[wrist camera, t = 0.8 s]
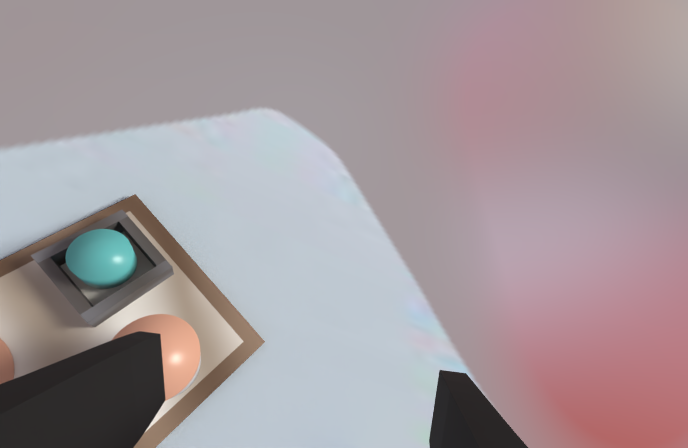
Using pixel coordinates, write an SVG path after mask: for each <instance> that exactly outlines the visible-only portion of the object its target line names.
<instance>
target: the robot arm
mask: <svg viewBox="0 0 688 448" xmlns="http://www.w3.org/2000/svg"><path fill="white" fill-rule="evenodd" d="M165 400H166V399H165V386H164V373H163V360H162V348H161V335H160V334H158V333H150V332H143V331H138V332H135V333H131V334H128V335H125V336H122V337H120V338H117V339H114V340H111V341H109V342H106V343H104V344H101V345H98V346H96V347H93V348H91V349H88V350H86V351H83V352H81V353H78V354H76V355H73V356H71V357H68V358H66V359H63V360H61V361H58V362H56V363H53V364H51V365H48V366H46V367H43V368H41V369H38V370H36V371H33V372H31V373H28V374H26V375H23V376H20V377H18V378H15V379H13V380H10V381H7V382H5V383H2V384H0V448H134V446H135V445H136V444H137V443H138V441H139V440H140V438H141V437H142V435H143V434H144V433H145V431H146V430H147V428H148V427H149V425H150V424H151V422H152V421H153V419H154V417H155V416H156V414H157V413H158V411H159V410H160V408H161V406H162V405H163V403H164V402H165ZM429 442H430V448H528V447H527V446H526V445H525V444H524V442H523V441H522V440H521V439H520V438H519V437H518V436H517V434H516V433H515V432H514V431H513V430H512V429H511V427H510V426H509V425H508V424H507V423H506V421H505V420H504V419H503V418H502V417H501V415H500V414H499V413H498V412H497V411H496V409H495V408H494V407H493V406H492V405H491V403H490V402H489V401H488V400H487V398H486V397H485V396H484V395H483V394H482V392H481V391H480V390H479V389H478V387H477V386H476V385H475V384H474V383H473V381H472V380H471V379H470V378H469V377H468V375H467V374H466V373H458V372H450V371H443V370H440V372H439V378H438V385H437V392H436V399H435V405H434V412H433V419H432V426H431V432H430V439H429Z"/></svg>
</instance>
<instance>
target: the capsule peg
mask: <svg viewBox="0 0 688 448" xmlns="http://www.w3.org/2000/svg"><path fill="white" fill-rule="evenodd" d="M138 331H143V332H150V333H158V334H160V335H161V348H162V360H163V373H164V386H165V399H166V400H168V399H171V398H173V397H175V396H177V395H179V394H181V393H182V392H184V391H185V390H186V389H188V388H189V387H190V386H191V384H192V383H193V382H194V380H195V379H196V377H197V375H198V373H199V370H200V366H201V353H200V343H199V339H198V336H197V334H196V332H195V331H194V329H193V328H192V327H191V326H190V325H189V324H188V323H187V322H186V321H184V320H183V319H181V318H179V317H176V316H173V315H168V314H154V315H149V316H145V317H142V318H139V319H137V320H135V321H133V322H131V323H130V324H128V325H126V326H125V327H124V328H123V329H121V330H120V331H119V332H118V333H117V334H116V335H115V336H114V338H113V339H112V340H114V339H117V338H120V337H122V336H125V335H128V334H131V333H135V332H138ZM166 400H165V401H166Z"/></svg>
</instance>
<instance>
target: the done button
mask: <svg viewBox="0 0 688 448" xmlns="http://www.w3.org/2000/svg"><path fill="white" fill-rule="evenodd" d="M65 258H66V264H67V266H68V268H69V269H70V271H71V272H72V273H74V274H75V275H76V276H77V277H78V278H79V279H80V280H82V281H83V282H84V283H85V284H86V285H88V286H90V287H93V288H97V289H109V288H114V287H117V286H119V285H121V284H123V283H125V282H126V281H128V280H129V279H130V278H131V277H132V275H133V274H134V272H135V271H136V268H137V256H136V254H135V252H134V250H133V248H132V246H131V244H130V242H129V240H128V239H127V238H126V237H125V236H124V235H123V234H121V233H119V232H117V231H114V230H110V229H96V230H91V231H88V232H86V233H84V234H82V235H80V236H78V237H77V238H76V239H75V240H74V241H73V242H72V243H71V244H70V245H69V247H68V249H67V252H66V257H65Z"/></svg>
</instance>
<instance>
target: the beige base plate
mask: <svg viewBox="0 0 688 448" xmlns="http://www.w3.org/2000/svg"><path fill="white" fill-rule="evenodd" d="M96 229H110V230H114V231H117V232H119V233H121V234H123V235H124V236H125V237H126V238H127V239H128V240H129V242H130V244H131V246H132V248H133V250H134V252H135V254H136V256H137V268H136V271H135V272H134V274H133V275H132V277H131V278H130V279H129V280H128V281H126V282H125V283H123V284H121V285H119V286H117V287H114V288H109V289H97V288H93V287H90V286H88V285H86V284H85V283H84V282H83V281H82V280H80V279H79V278H78V277H77V276H76V275H75V274H74V273H72V272H71V271H70V269H69V268H68V266H67V264H66V258H65V257H66V252H67V249H68V247H69V245H70V244H71V243H72V242H73V241H74V240H75V239H76V238H77V237H78V236H80V235H82V234H84V233H86V232H88V231H91V230H96ZM154 314H168V315H173V316H176V317H179V318H181V319H183V320H184V321H186V322H187V323H188V324H189V325H190V326H191V327H192V328H193V329H194V331H195V332H196V334H197V336H198V339H199V343H200V353H201V366H200V370H199V373H198V375H197V377H196V379H195V380H194V382H193V383H192V384H191V386H190V387H189V388H188V389H186V390H185V391H184V392H182V393H181V394H179V395H177V396H175V397H173V398H171V399H168V400H166V401H165V402H164V403H163V405H162V406H161V408H160V410H159V411H158V413H157V414H156V416H155V417H154V419H153V421H152V422H151V424H150V425H149V427H148V428H147V430H146V431H145V433H144V434H143V435H142V437H141V438H140V440H139V441H138V443H137V444H136V445H135V446H134V448H155V447H156V446H157V445H158V444H159V443H161V442H162V441H163V440H164V439H165V438H166V437H167V436H168V435H169V434H170V433H171V432H172V431H173V430H174V429H175V428H176V427H177V426H178V425H179V424H180V423H181V422H182V421H183V420H184V419H185V418H186V417H187V416H189V415H190V414H191V413H192V412H193V411H194V410H195V409H196V408H197V407H198V406H199V405H200V404H201V403H202V402H203V401H204V400H205V399H206V398H207V397H208V396H209V395H210V394H211V393H212V392H213V391H214V390H215V389H217V388H218V387H219V386H220V385H221V384H222V383H223V382H224V381H225V380H226V379H227V378H228V377H229V376H230V375H231V374H232V373H233V372H234V371H235V370H236V369H237V368H238V367H239V366H240V365H241V364H242V363H243V362H245V361H246V360H247V359H248V358H249V357H250V356H251V355H252V354H253V353H254V352H255V351H256V350H257V349H258V348H259V347H260V346H261V345H262V344H263V343H264V342H265V341H264V340H263V339H262V338H261V337H260V336H259V335H258V333H257V332H256V331H255V330H254V329H253V328H252V327H251V325H250V324H249V323H248V322H247V321H246V320H245V319H244V317H243V316H242V315H241V314H240V313H239V312H238V311H237V310H236V308H235V307H234V306H233V305H232V304H231V303H230V302H229V300H228V299H227V298H226V297H225V296H224V295H223V294H222V292H221V291H220V290H219V289H218V288H217V287H216V286H215V284H214V283H213V282H212V281H211V280H210V279H209V278H208V277H207V275H206V274H205V273H204V272H203V271H202V270H201V269H200V267H199V266H198V265H197V264H196V263H195V262H194V261H193V259H192V258H191V257H190V256H189V255H188V254H187V253H186V251H185V250H184V249H183V248H182V247H181V246H180V245H179V243H178V242H177V241H176V240H175V239H174V238H173V237H172V236H171V234H170V233H169V232H168V231H167V230H166V229H165V228H164V226H163V225H162V224H161V223H160V222H159V221H158V220H157V218H156V217H155V216H154V215H153V214H152V213H151V212H150V210H149V209H148V208H147V207H146V206H145V205H144V204H143V202H142V201H141V200H140V199H139V198H138V197H137V196H136V195H133V196H131V197H129V198H127V199H124V200H122V201H120V202H118V203H116V204H114V205H112V206H110V207H108V208H106V209H104V210H102V211H100V212H98V213H96V214H94V215H92V216H90V217H88V218H86V219H84V220H82V221H80V222H77V223H75V224H73V225H71V226H69V227H67V228H65V229H63V230H61V231H59V232H57V233H55V234H53V235H51V236H49V237H47V238H45V239H43V240H41V241H39V242H37V243H35V244H32V245H30V246H28V247H26V248H24V249H22V250H20V251H18V252H16V253H14V254H12V255H10V256H8V257H6V258H4V259H2V260H0V384H2V383H5V382H7V381H10V380H13V379H15V378H18V377H20V376H23V375H26V374H28V373H31V372H33V371H36V370H38V369H41V368H43V367H46V366H48V365H51V364H53V363H56V362H58V361H61V360H63V359H66V358H68V357H71V356H73V355H76V354H78V353H81V352H83V351H86V350H88V349H91V348H93V347H96V346H98V345H101V344H104V343H106V342H109V341H111V340H112V339H113V338H114V336H115V335H116V334H117V333H118V332H119V331H120V330H121V329H123V328H124V327H125V326H126V325H128V324H130V323H131V322H133V321H135V320H137V319H139V318H142V317H145V316H149V315H154Z"/></svg>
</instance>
